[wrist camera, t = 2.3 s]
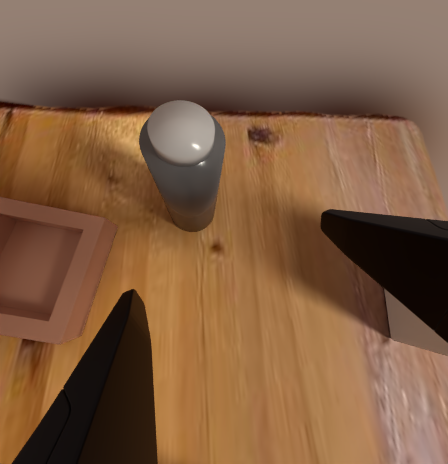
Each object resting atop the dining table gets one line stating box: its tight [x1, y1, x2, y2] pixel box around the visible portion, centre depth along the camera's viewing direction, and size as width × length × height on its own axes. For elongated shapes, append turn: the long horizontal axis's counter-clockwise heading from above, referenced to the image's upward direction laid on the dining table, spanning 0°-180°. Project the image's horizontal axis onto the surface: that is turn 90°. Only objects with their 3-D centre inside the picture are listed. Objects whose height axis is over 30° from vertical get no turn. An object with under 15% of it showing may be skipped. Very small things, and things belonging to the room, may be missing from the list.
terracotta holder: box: [0, 197, 118, 344], centre depth 19 cm, size 11×11×3 cm
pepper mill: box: [139, 101, 226, 232], centre depth 17 cm, size 5×5×13 cm
